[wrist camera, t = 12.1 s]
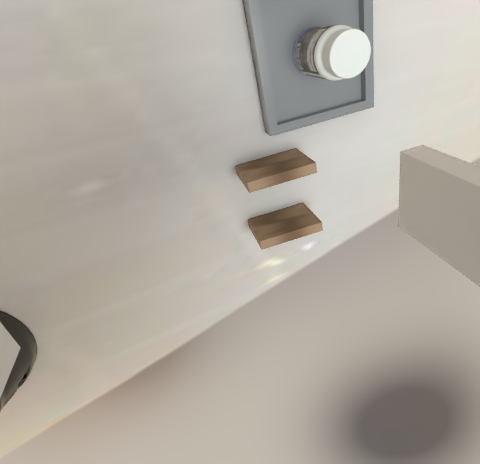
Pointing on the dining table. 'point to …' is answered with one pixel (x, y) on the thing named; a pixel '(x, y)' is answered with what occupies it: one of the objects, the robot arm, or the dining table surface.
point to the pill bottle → (332, 52)
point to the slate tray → (286, 72)
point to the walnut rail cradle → (288, 219)
